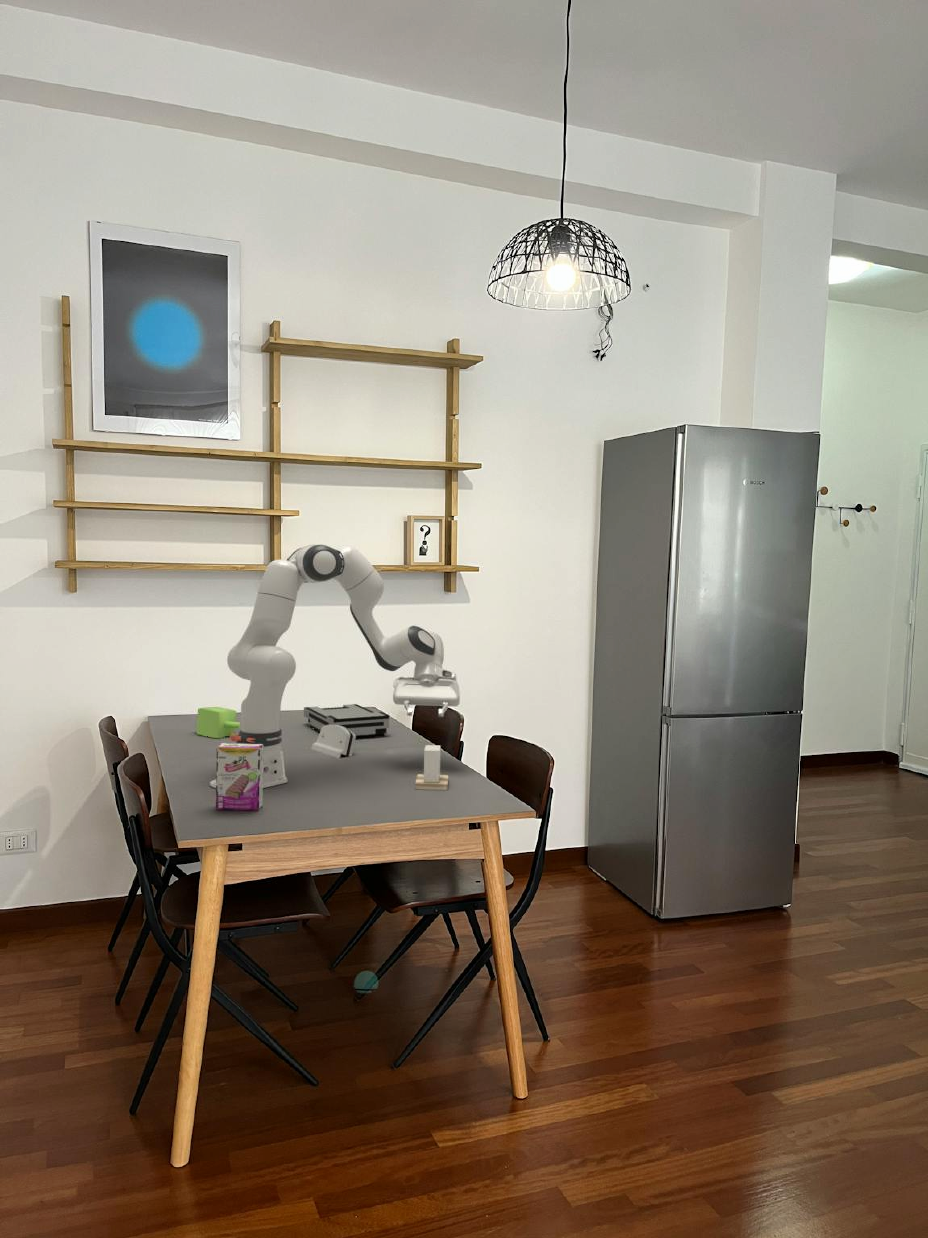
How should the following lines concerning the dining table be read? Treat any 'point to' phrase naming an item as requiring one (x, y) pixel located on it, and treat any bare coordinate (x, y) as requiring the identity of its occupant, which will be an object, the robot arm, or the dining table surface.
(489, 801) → the dining table surface
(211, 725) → the gearbox
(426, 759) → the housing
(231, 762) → the candy bar box
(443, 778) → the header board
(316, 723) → the office tray
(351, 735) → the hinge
